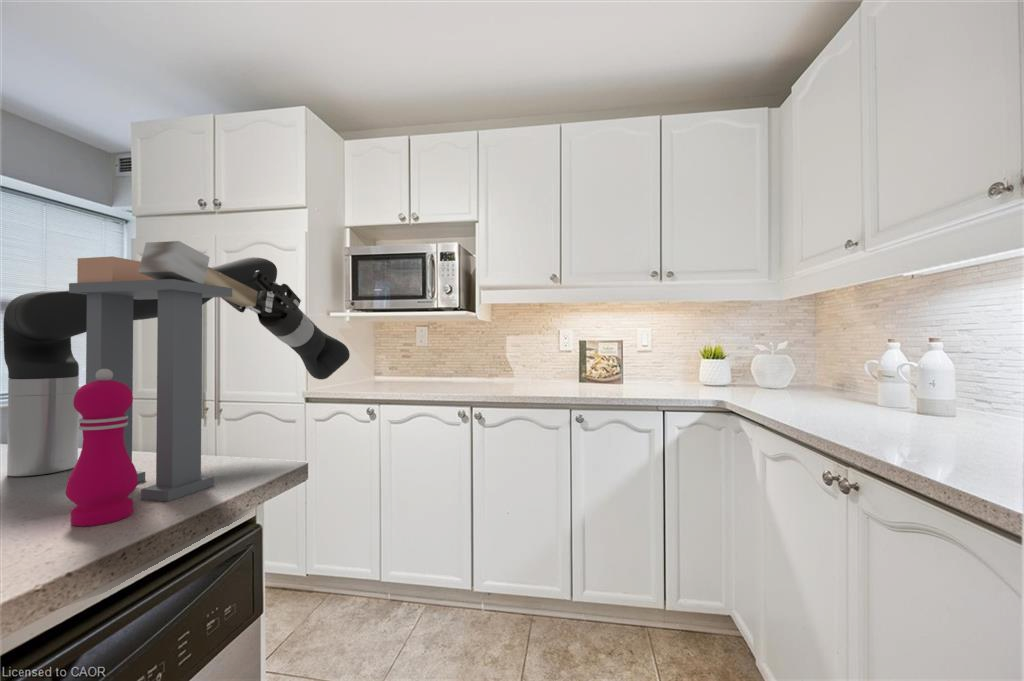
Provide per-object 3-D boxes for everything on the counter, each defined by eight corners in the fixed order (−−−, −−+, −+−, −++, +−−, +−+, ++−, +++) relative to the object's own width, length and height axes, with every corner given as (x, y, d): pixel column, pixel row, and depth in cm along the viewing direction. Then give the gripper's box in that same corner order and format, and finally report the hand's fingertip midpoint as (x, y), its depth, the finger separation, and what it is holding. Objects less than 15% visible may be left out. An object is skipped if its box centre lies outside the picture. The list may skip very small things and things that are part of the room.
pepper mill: (95, 530, 57) (96, 370, 58) (50, 526, 59) (51, 369, 59) (151, 510, 65) (152, 367, 65) (109, 506, 66) (111, 367, 66)
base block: (77, 283, 73) (77, 258, 73) (140, 290, 83) (140, 268, 83) (112, 282, 72) (112, 256, 72) (172, 289, 81) (172, 267, 81)
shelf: (66, 492, 72) (69, 283, 73) (137, 473, 83) (138, 291, 84) (170, 501, 68) (172, 279, 69) (231, 480, 79) (232, 288, 79)
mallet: (138, 272, 71) (145, 242, 72) (233, 311, 90) (238, 287, 91) (172, 271, 70) (179, 241, 71) (261, 311, 89) (265, 286, 90)
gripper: (265, 308, 103) (212, 261, 89) (322, 307, 100) (276, 257, 86) (252, 337, 99) (195, 292, 85) (311, 337, 96) (261, 290, 82)
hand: (236, 275), depth 86 cm, fingers open, 8 cm apart
